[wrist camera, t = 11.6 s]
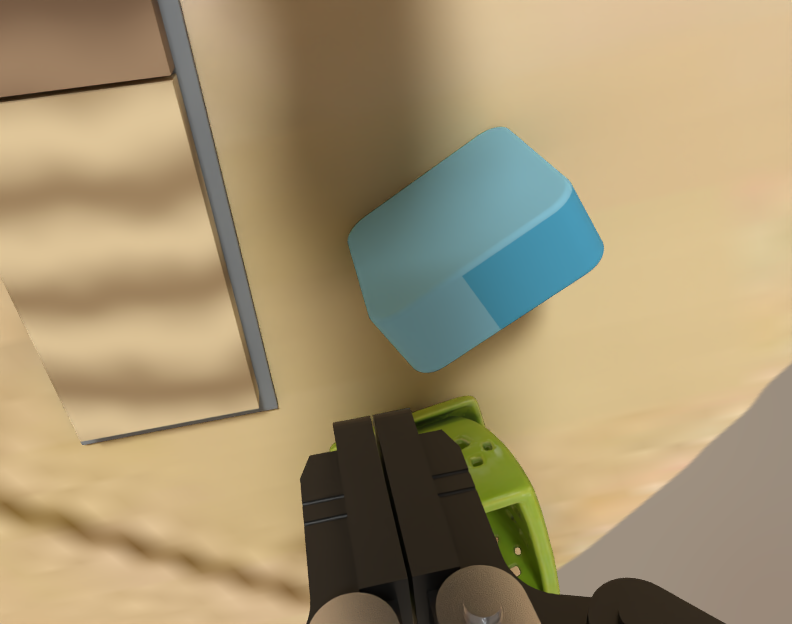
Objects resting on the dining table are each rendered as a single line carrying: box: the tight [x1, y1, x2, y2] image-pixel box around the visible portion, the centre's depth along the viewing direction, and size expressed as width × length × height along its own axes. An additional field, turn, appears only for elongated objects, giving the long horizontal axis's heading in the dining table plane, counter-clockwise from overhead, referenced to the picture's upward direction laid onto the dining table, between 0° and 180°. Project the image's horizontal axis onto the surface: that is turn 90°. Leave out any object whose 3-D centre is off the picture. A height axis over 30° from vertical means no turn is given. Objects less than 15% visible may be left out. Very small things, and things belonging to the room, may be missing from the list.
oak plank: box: [0, 74, 259, 442], centre depth 39 cm, size 22×12×2 cm, turn 5°
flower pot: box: [330, 396, 560, 594], centre depth 48 cm, size 14×14×13 cm
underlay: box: [81, 0, 278, 445], centre depth 38 cm, size 35×14×1 cm, turn 5°
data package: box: [348, 127, 604, 373], centre depth 37 cm, size 12×4×12 cm, turn 124°
